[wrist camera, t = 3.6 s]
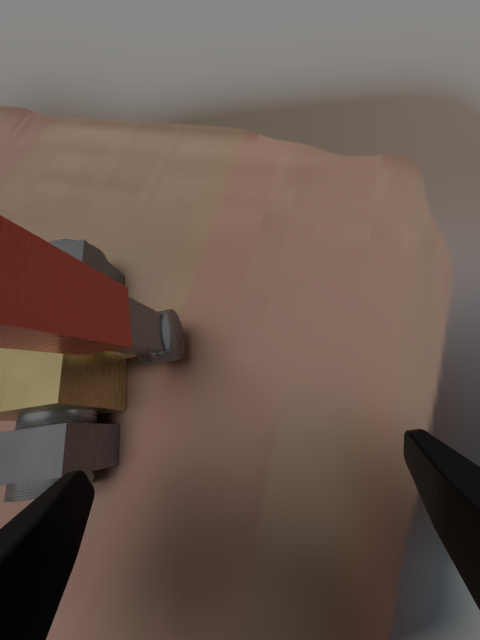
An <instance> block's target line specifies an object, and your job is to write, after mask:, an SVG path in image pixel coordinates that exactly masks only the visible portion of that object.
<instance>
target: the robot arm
mask: <svg viewBox="0 0 480 640" xmlns="http://www.w3.org/2000/svg"><path fill="white" fill-rule="evenodd" d="M404 458H405V462H406V464H407V466H408V469H409V471H410V473H411V476H412V478H413V480H414V482H415V485H416V487H417V489H418V492H419V494H420V496H421V499H422V501H423V503H424V505H425V507H426V510H427V512H428V515H429V516H430V519H431V521H432V523H433V525H434V528H435V529H436V531H437V533H438V535H439V537H440V539H441V541H442V543H443V544H444V546H445V548H446V550H447V552H448V554H449V555H450V557H451V559H452V561H453V563H454V564H455V566H456V568H457V570H458V571H459V574H460V575H461V577H462V579H463V580H464V583H465V584H466V586H467V588H468V590H469V592H470V594H471V595H472V597H473V599H474V601H475V603H476V604H477V606H478V608H479V610H480V467H479V466H478V465H476V464H475V463H473V462H472V461H470V460H469V459H467V458H466V457H464V456H462V455H461V454H460V453H458V452H457V451H455V450H454V449H452V448H451V447H449V446H448V445H446V444H445V443H443V442H442V441H440V440H439V439H437V438H436V437H434V436H433V435H431V434H430V433H428V432H427V431H425V430H423V429H415V430H407V431H406V432H405V434H404ZM94 494H95V491H94V487H93V485H92V484H91V482H90V480H89V479H88V477H87V475H86V474H85V472H84V471H82V470H77V471H70V472H67V473H66V474H64V475H63V476H62V477H61V478H60V479H58V480H57V481H56V482H55V483H54V484H53V485H51V486H50V487H49V488H48V489H47V490H46V491H44V492H43V493H42V494H41V495H40V496H39V497H37V498H36V499H35V500H34V501H33V502H32V503H30V504H29V505H28V506H27V507H26V508H25V509H23V510H22V511H21V512H20V513H19V514H17V515H16V516H15V517H14V518H13V519H12V520H10V521H9V522H8V523H7V524H6V525H5V526H3V527H2V528H1V529H0V640H46V638H47V635H48V633H49V630H50V627H51V625H52V622H53V619H54V617H55V614H56V611H57V609H58V606H59V603H60V601H61V598H62V595H63V593H64V590H65V587H66V585H67V582H68V579H69V577H70V574H71V572H72V569H73V566H74V563H75V560H76V558H77V554H78V551H79V548H80V545H81V541H82V538H83V534H84V531H85V527H86V524H87V520H88V517H89V513H90V510H91V506H92V503H93V500H94Z"/></svg>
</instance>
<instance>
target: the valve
mask: <svg viewBox="0 0 480 640" xmlns="http://www.w3.org/2000/svg"><path fill="white" fill-rule="evenodd" d="M49 243H50V244H52V245H54V246H55V247H57V248H59V249H61V250H62V251H64V252H66V253H68V254H70V255H71V256H73V257H75V258H77V259H78V260H80V261H82V262H84V263H85V264H87V265H89V266H91V267H93V268H94V269H96V270H98V271H100V272H101V273H103V274H105V275H107V276H108V277H110V278H112V279H114V280H116V281H117V282H119V283H121V284H123V285H124V276H123V275H122V274H121V273H120V272H119V271H118V270H117V269H116V268H115V267H114V266H113V265H111V264H110V263H109V262H108V261H107V260H106V256H105V255H104V253H103V252H102V251H101V250H99V249H98V248H96V247H95V246H93V245H90V244H89V243H88V242H86V241H85V240H79V241H77V240H69V239H62V240H55V241H52V242H49ZM132 357H136V356H135V355H134V354H126V353H118V352H111V351H107V352H102V353H96V354H90V355H84V356H81V355H70V354H60V353H49V352H38V351H27V350H16V349H5V348H0V420H1V421H16V427H15V430H14V431H7V432H0V485H5V484H6V491H5V497H4V502H15V501H23V500H31V499H36V498H37V497H39V496H40V495H41V494H42V493H43V492H44V491H46V490H47V489H48V488H49V487H50V486H51V485H53V484H54V483H55V482H56V481H57V480H58V479H60V478H61V477H62V476H63V475H64V474H66V473H67V472H70V471H77V470H82V471H84V472H85V474H86V475H87V477H88V479H89V480H90V482H91V484H92V485H93V479H94V471H95V470H100V469H104V468H109V467H114V466H118V462H119V430H120V424H97V415H99V414H105V413H112V412H119V411H126V383H127V358H132Z"/></svg>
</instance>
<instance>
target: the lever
mask: <svg viewBox="0 0 480 640" xmlns="http://www.w3.org/2000/svg"><path fill="white" fill-rule="evenodd" d="M184 347H185V343H184V333H183V328H182V325H181V321H180V319H179V317H178V315H177V313H176V312H175V311H174V310H172V309H170V310H165V311H159V312H157V311H155V310H153V309H151V308H149V307H147V306H145V305H143V304H141V303H139V302H137V301H135V300H133V299H131V298H129V297H128V287H126V286H124V285H123V284H121V283H119V282H117V281H116V280H114V279H112V278H110V277H108V276H107V275H105V274H103V273H101V272H100V271H98V270H96V269H94V268H93V267H91V266H89V265H87V264H85V263H84V262H82V261H80V260H78V259H77V258H75V257H73V256H71V255H70V254H68V253H66V252H64V251H62V250H61V249H59V248H57V247H55V246H54V245H52V244H50V243H48V242H47V241H45V240H43V239H41V238H40V237H38V236H36V235H34V234H32V233H31V232H29V231H27V230H25V229H24V228H22V227H20V226H18V225H17V224H15V223H13V222H11V221H9V220H8V219H6V218H4V217H2V216H1V215H0V348H5V349H16V350H27V351H38V352H49V353H60V354H70V355H81V356H84V355H90V354H96V353H102V352H107V351H111V352H118V353H126V354H134V355H135V356H136V358H137V359H138V361H139V362H140V363H141V364H143V365H152V364H159V363H165V362H171V361H177V360H181V359H182V357H183V354H184Z"/></svg>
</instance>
